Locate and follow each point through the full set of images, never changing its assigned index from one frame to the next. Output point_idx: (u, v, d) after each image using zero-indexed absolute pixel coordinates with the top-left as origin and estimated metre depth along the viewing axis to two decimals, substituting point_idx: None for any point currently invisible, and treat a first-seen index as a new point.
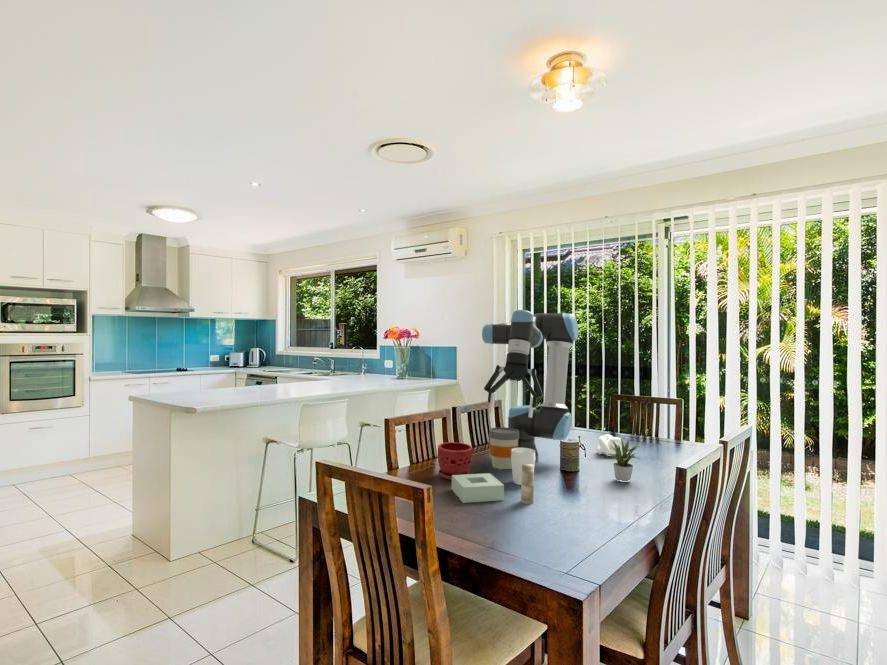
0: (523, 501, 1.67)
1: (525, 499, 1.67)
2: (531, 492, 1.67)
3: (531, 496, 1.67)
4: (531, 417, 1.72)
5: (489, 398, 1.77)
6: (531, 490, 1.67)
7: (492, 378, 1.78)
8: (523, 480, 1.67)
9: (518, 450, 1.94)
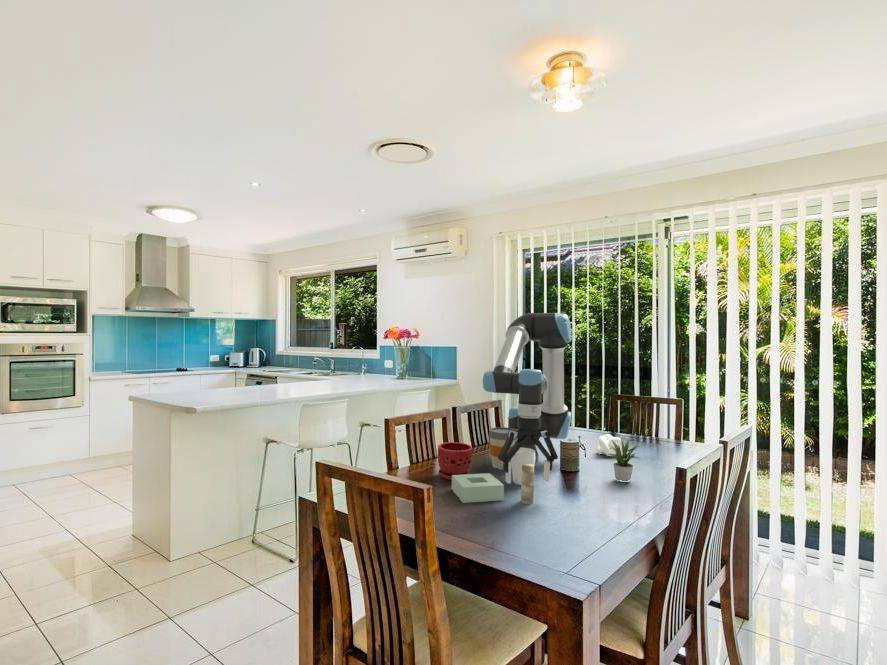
0: (523, 501, 1.67)
1: (525, 499, 1.67)
2: (531, 492, 1.67)
3: (531, 496, 1.67)
4: None
5: (506, 468, 1.65)
6: (531, 490, 1.67)
7: (508, 447, 1.65)
8: (523, 480, 1.67)
9: (518, 450, 1.94)
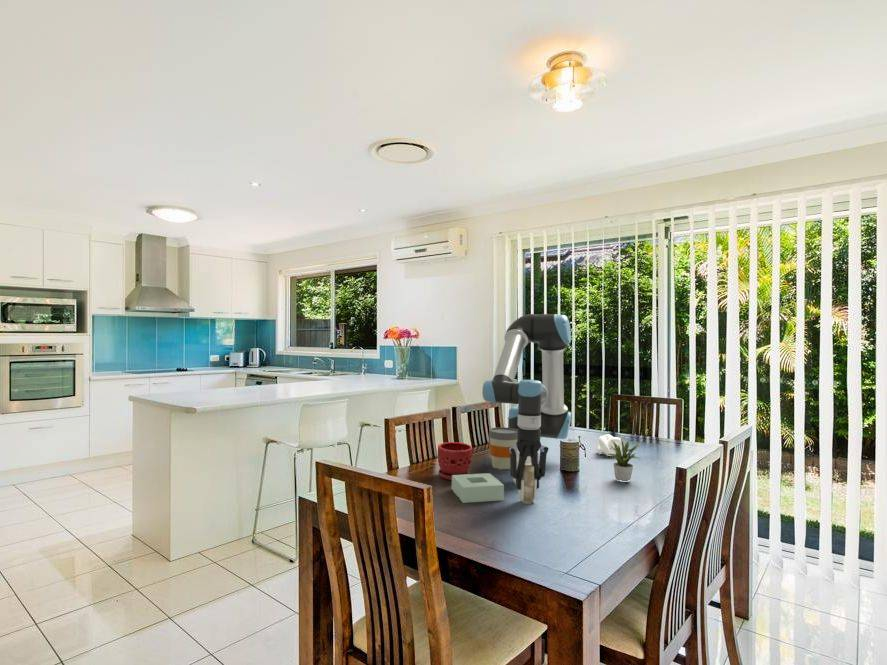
0: (523, 501, 1.67)
1: (526, 499, 1.67)
2: (532, 492, 1.67)
3: (531, 496, 1.67)
4: None
5: (519, 485, 1.67)
6: (531, 490, 1.67)
7: (515, 463, 1.66)
8: None
9: (518, 450, 1.94)
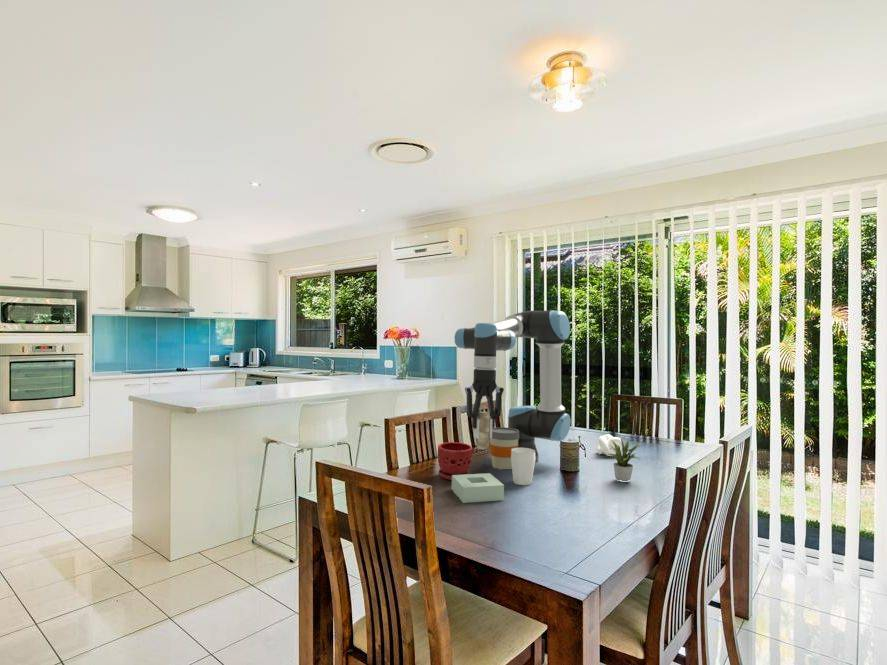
0: (479, 447, 1.72)
1: (481, 445, 1.72)
2: (487, 438, 1.72)
3: (487, 442, 1.72)
4: None
5: (474, 424, 1.72)
6: (487, 436, 1.72)
7: (470, 402, 1.71)
8: None
9: (518, 450, 1.94)
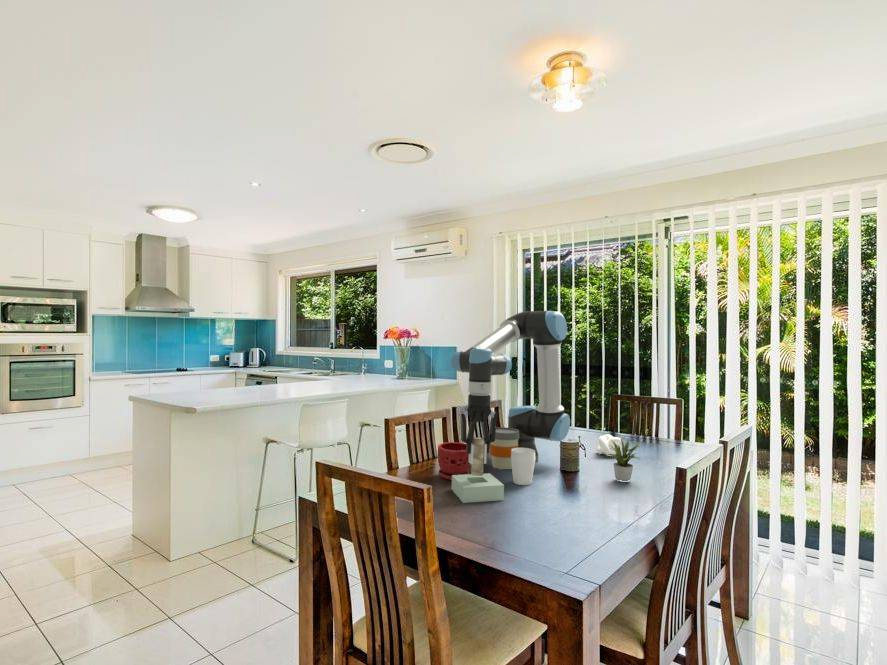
0: (473, 473, 1.73)
1: (475, 471, 1.72)
2: (481, 464, 1.73)
3: (481, 468, 1.73)
4: None
5: (469, 450, 1.73)
6: (481, 462, 1.73)
7: (465, 428, 1.72)
8: (473, 453, 1.73)
9: (518, 450, 1.94)
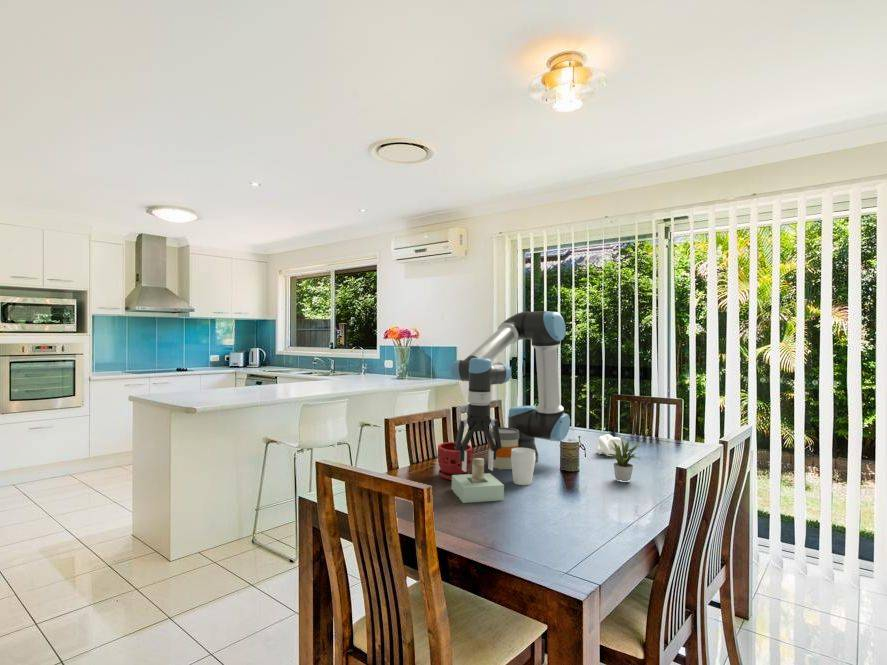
0: None
1: None
2: None
3: None
4: None
5: (462, 457, 1.72)
6: None
7: (461, 436, 1.72)
8: (473, 473, 1.73)
9: (518, 450, 1.94)
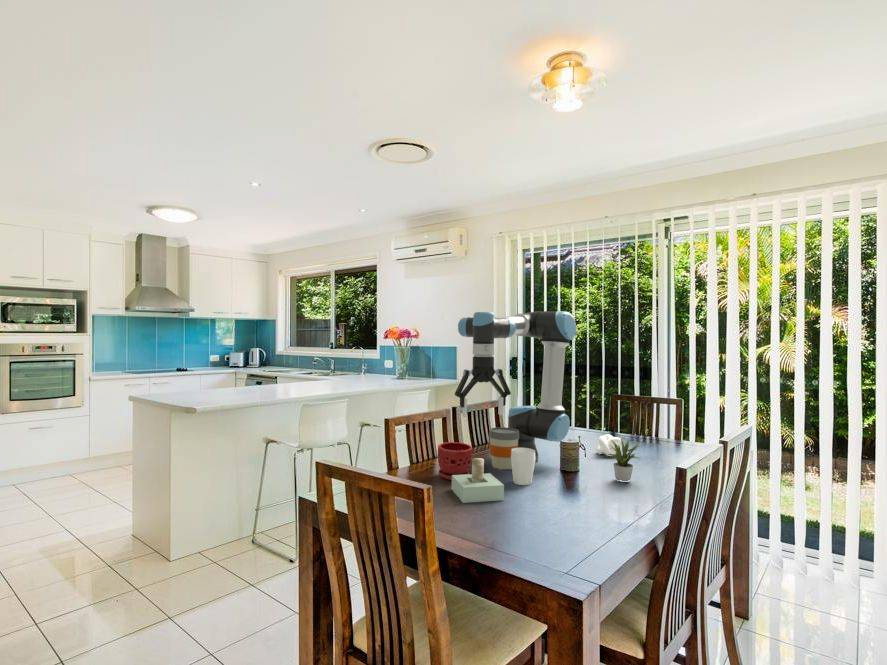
0: None
1: None
2: None
3: None
4: (501, 414, 1.84)
5: (462, 403, 1.78)
6: None
7: (463, 384, 1.78)
8: (472, 473, 1.73)
9: (518, 450, 1.94)
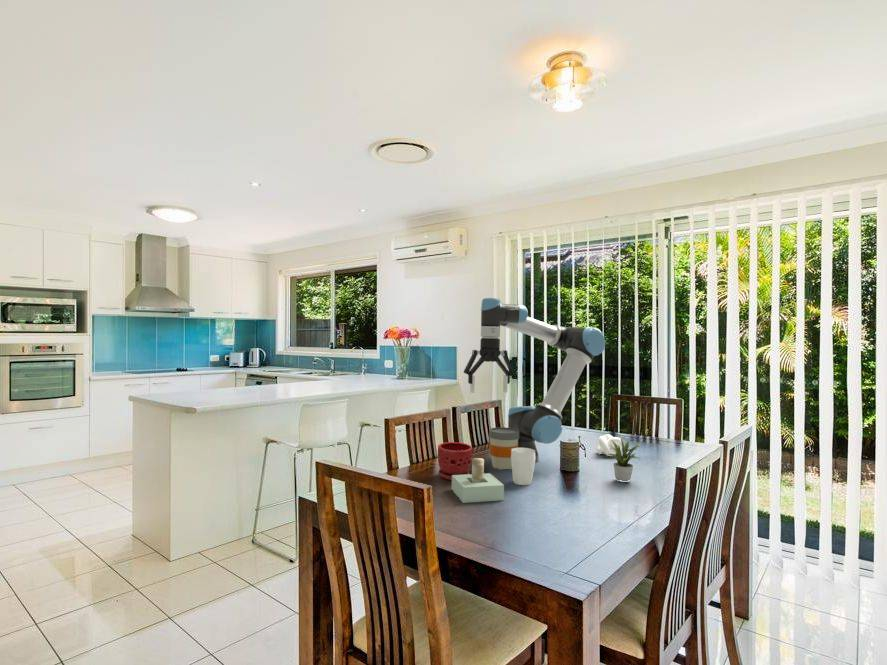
0: None
1: None
2: None
3: None
4: (505, 391, 2.03)
5: (470, 380, 1.98)
6: None
7: (472, 362, 1.97)
8: (473, 473, 1.73)
9: (518, 450, 1.94)
